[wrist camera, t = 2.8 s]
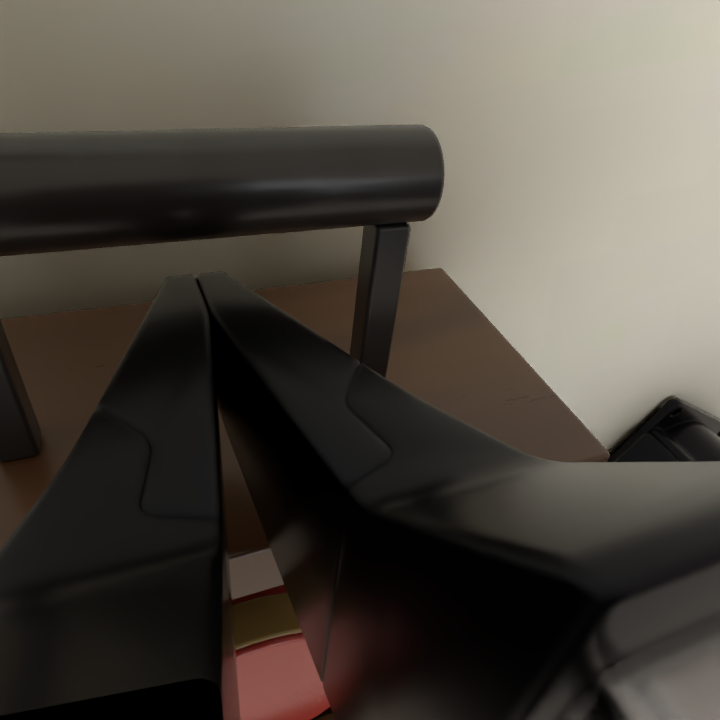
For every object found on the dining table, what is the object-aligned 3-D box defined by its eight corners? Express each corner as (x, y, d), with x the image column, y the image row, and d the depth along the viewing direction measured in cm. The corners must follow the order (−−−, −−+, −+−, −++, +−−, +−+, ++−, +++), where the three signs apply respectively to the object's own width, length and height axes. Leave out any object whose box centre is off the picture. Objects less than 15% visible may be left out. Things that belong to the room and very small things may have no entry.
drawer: (-379, 46, 8) (-1142, 368, 3) (484, 63, 12) (756, 198, 7) (30, 683, 20) (19, 935, 16) (375, 576, 25) (447, 747, 20)
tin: (321, 422, 16) (414, 630, 11) (240, 531, 17) (295, 745, 13) (154, 384, 13) (196, 642, 9) (77, 518, 15) (81, 787, 10)
